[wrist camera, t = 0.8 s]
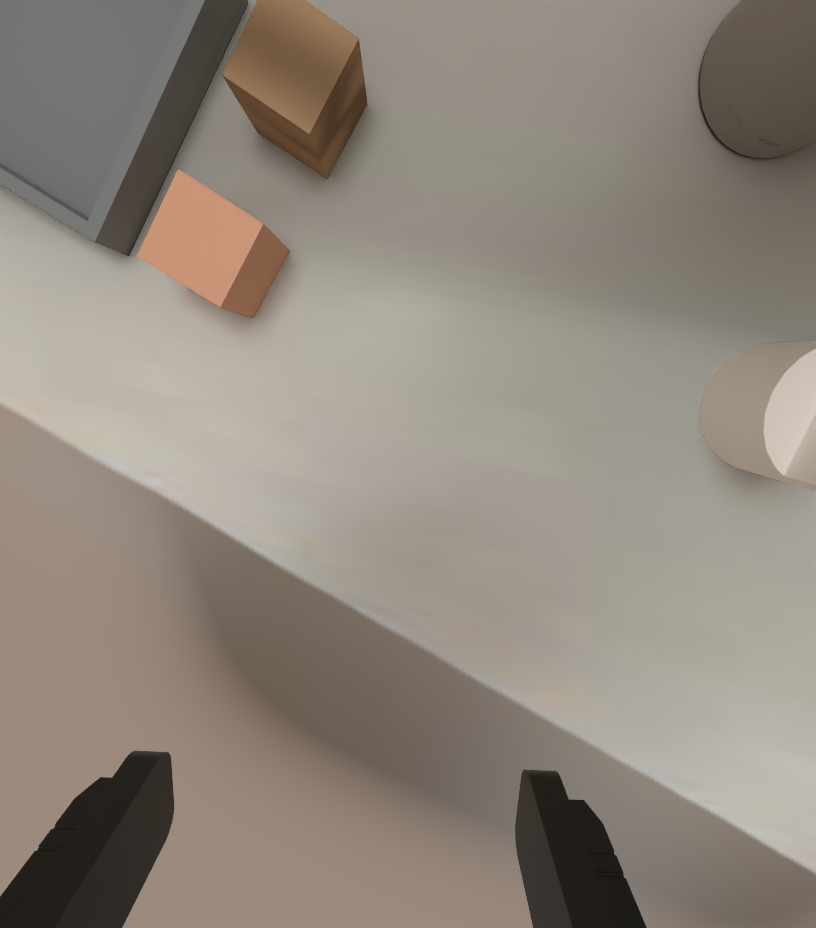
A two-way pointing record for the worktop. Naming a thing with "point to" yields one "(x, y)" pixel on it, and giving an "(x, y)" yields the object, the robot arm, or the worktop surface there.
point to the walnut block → (299, 80)
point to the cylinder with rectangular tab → (765, 412)
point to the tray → (103, 102)
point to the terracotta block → (213, 247)
